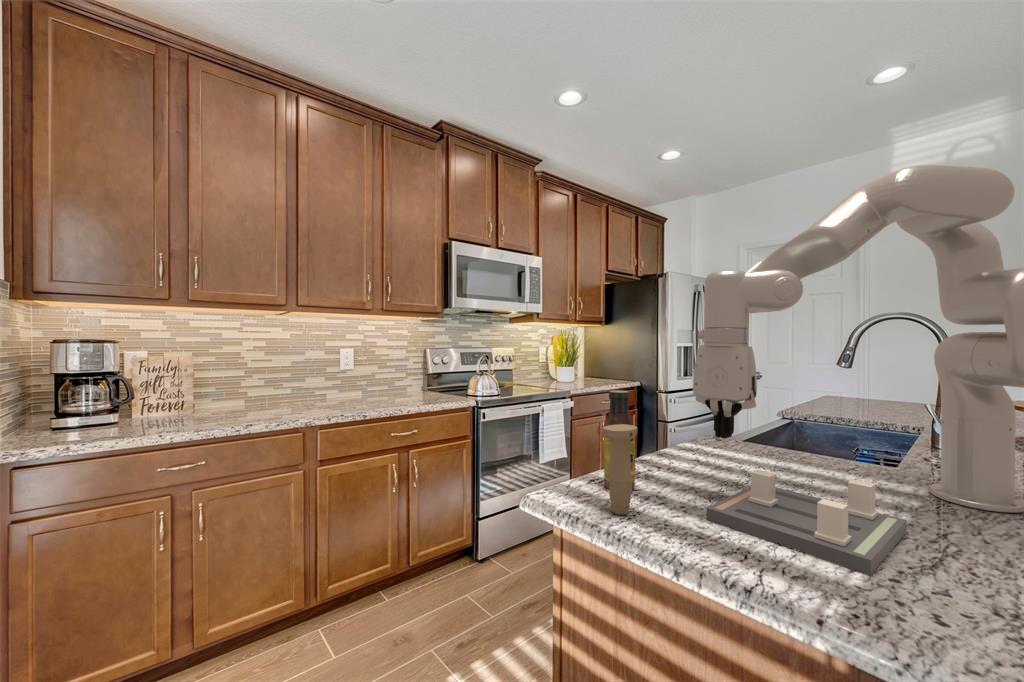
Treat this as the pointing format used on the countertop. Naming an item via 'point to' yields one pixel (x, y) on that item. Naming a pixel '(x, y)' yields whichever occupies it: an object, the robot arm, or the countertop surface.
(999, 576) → the countertop surface
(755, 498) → the block
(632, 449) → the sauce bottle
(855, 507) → the block
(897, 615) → the countertop surface
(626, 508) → the handle
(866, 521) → the board
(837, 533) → the block
